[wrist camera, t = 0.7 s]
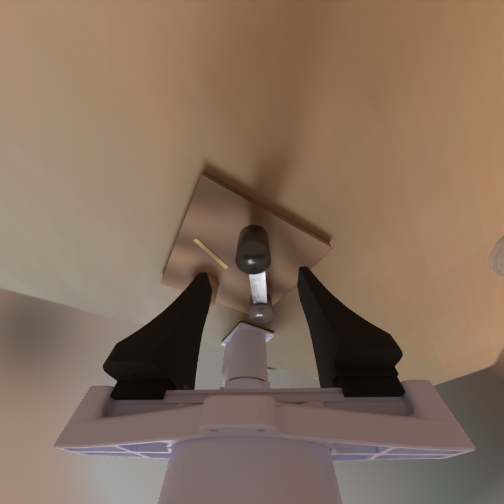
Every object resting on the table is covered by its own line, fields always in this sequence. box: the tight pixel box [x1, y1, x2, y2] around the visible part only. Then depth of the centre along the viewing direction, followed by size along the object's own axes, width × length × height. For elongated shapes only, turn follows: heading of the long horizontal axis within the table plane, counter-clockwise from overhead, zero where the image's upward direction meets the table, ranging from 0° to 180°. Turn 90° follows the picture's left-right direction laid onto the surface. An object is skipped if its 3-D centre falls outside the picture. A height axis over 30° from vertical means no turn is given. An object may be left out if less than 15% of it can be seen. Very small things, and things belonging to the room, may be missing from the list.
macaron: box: [193, 274, 219, 307], centre depth 26 cm, size 4×4×3 cm
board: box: [160, 172, 332, 314], centre depth 26 cm, size 18×18×1 cm
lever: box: [235, 225, 274, 324], centre depth 22 cm, size 16×4×6 cm, turn 5°
